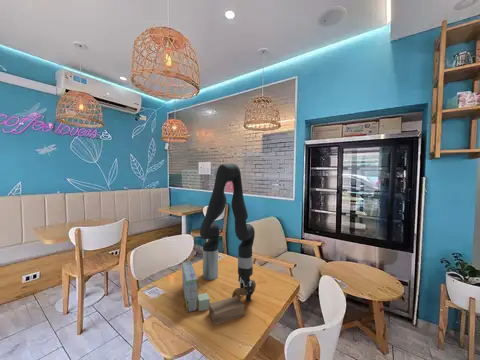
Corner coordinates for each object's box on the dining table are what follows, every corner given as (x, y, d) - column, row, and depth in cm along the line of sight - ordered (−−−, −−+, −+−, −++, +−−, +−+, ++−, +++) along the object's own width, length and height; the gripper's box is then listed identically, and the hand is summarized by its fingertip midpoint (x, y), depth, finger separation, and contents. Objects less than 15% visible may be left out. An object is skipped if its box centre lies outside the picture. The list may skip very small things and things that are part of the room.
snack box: (181, 289, 115) (181, 262, 115) (192, 287, 117) (191, 260, 117) (186, 313, 96) (186, 280, 95) (198, 310, 98) (198, 278, 97)
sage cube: (197, 305, 102) (197, 294, 102) (207, 302, 103) (207, 293, 103) (198, 311, 97) (198, 300, 97) (209, 309, 99) (209, 298, 98)
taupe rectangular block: (209, 314, 95) (209, 303, 95) (237, 306, 101) (237, 296, 101) (214, 326, 88) (214, 314, 88) (244, 316, 94) (244, 305, 94)
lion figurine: (252, 293, 111) (252, 277, 111) (258, 298, 107) (258, 281, 106) (227, 302, 104) (227, 284, 104) (232, 308, 99) (232, 289, 99)
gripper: (233, 260, 111) (233, 290, 111) (243, 271, 98) (243, 306, 98) (247, 258, 113) (247, 287, 114) (257, 269, 100) (257, 302, 100)
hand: (245, 296), depth 106 cm, fingers open, 8 cm apart
